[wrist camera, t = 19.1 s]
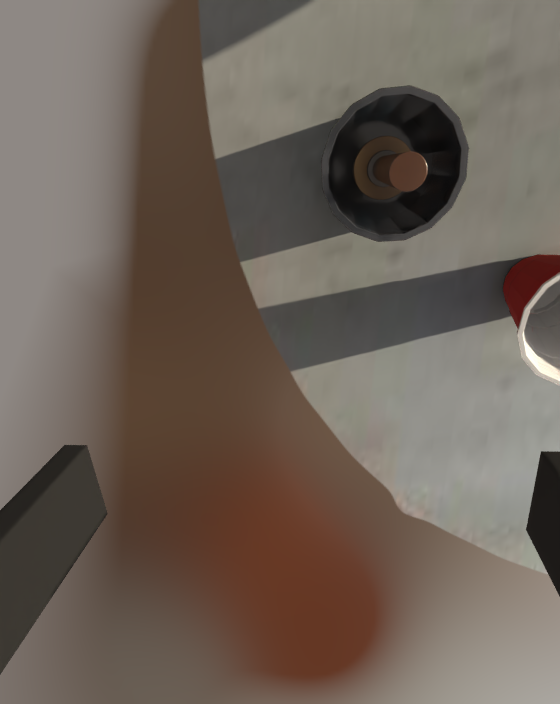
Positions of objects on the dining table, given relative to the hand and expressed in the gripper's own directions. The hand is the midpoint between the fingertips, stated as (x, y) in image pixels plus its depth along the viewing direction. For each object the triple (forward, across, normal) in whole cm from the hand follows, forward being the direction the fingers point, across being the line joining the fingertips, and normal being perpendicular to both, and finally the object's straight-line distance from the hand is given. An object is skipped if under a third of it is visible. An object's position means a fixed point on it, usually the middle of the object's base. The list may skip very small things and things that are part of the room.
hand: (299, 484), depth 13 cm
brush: (+34, +5, +8) cm, 35 cm away
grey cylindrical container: (+35, +5, +8) cm, 36 cm away
